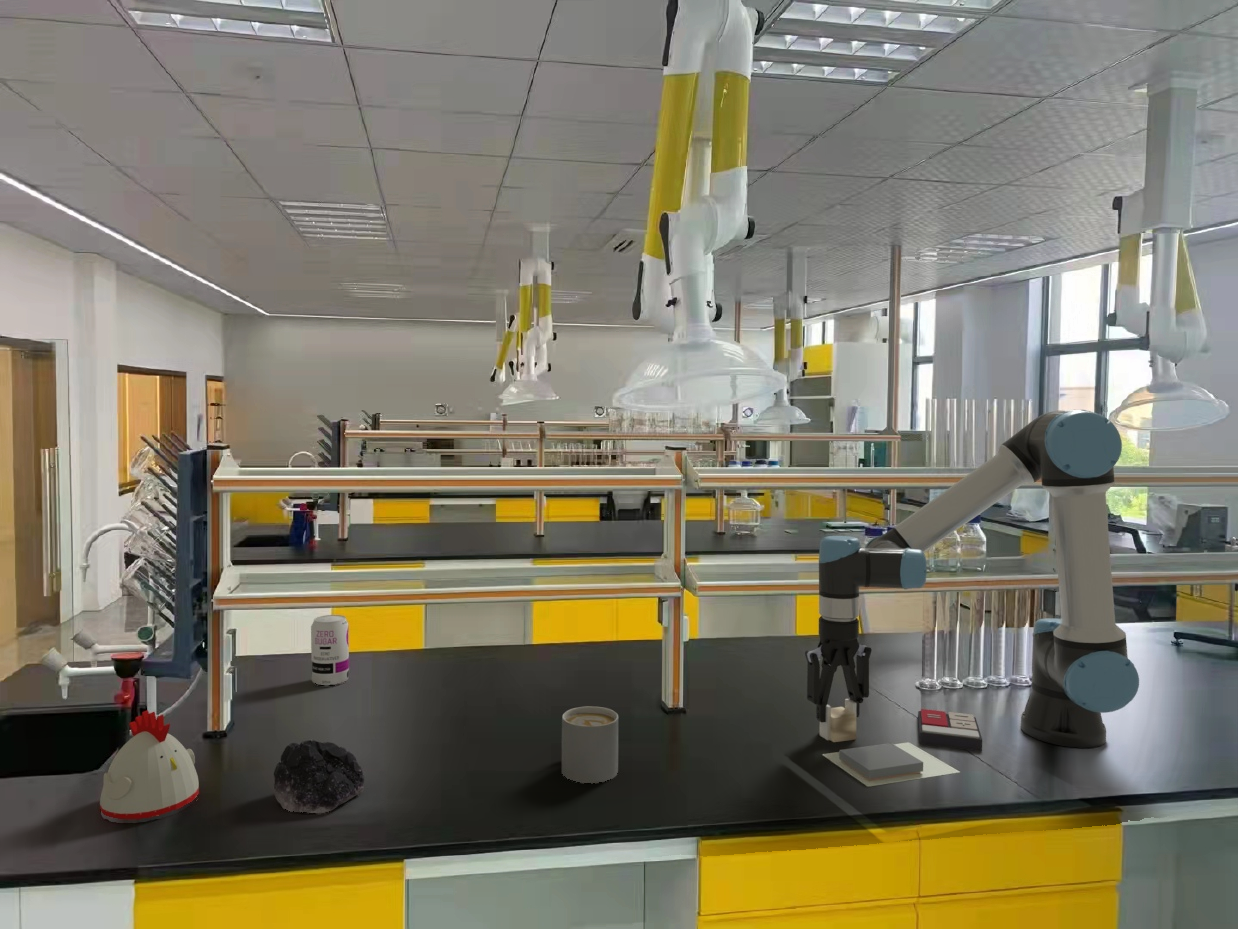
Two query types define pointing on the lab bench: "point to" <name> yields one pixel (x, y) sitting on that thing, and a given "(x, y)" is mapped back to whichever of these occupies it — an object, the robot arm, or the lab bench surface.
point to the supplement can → (330, 649)
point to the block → (842, 725)
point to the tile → (880, 761)
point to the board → (930, 769)
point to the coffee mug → (590, 744)
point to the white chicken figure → (149, 773)
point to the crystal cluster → (316, 777)
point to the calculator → (949, 730)
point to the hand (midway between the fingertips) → (837, 735)
